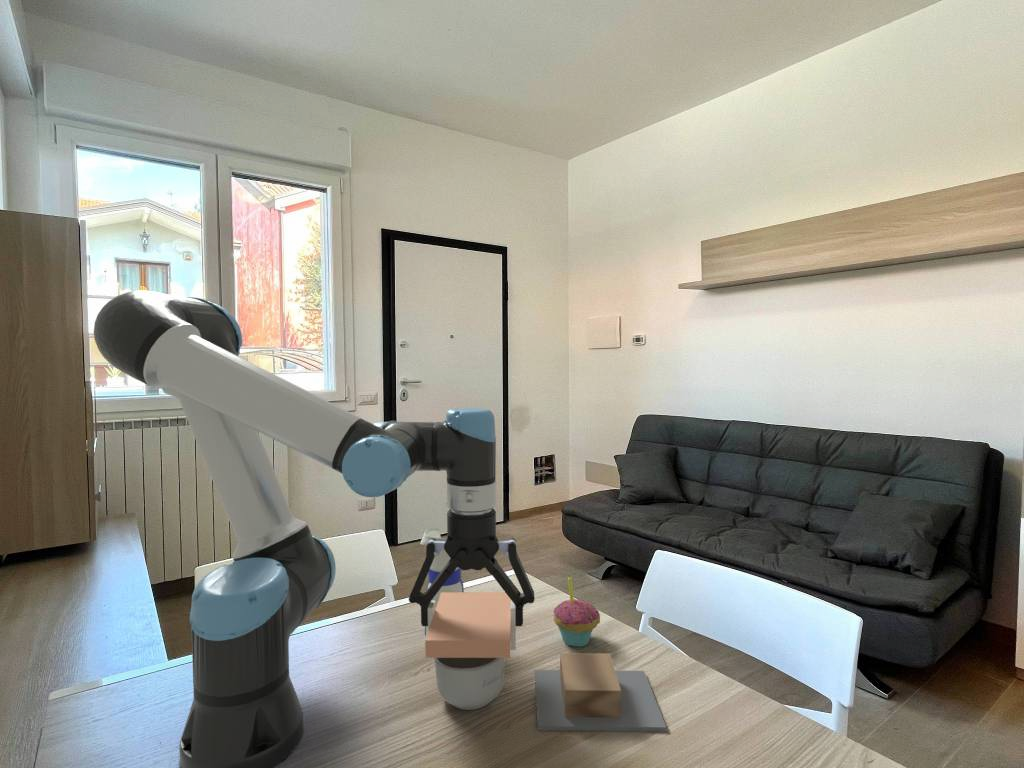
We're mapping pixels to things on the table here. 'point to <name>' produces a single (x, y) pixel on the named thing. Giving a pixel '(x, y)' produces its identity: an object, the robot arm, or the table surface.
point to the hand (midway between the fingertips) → (472, 645)
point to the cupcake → (576, 619)
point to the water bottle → (438, 564)
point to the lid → (470, 626)
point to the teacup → (469, 680)
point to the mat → (635, 716)
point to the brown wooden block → (589, 685)
